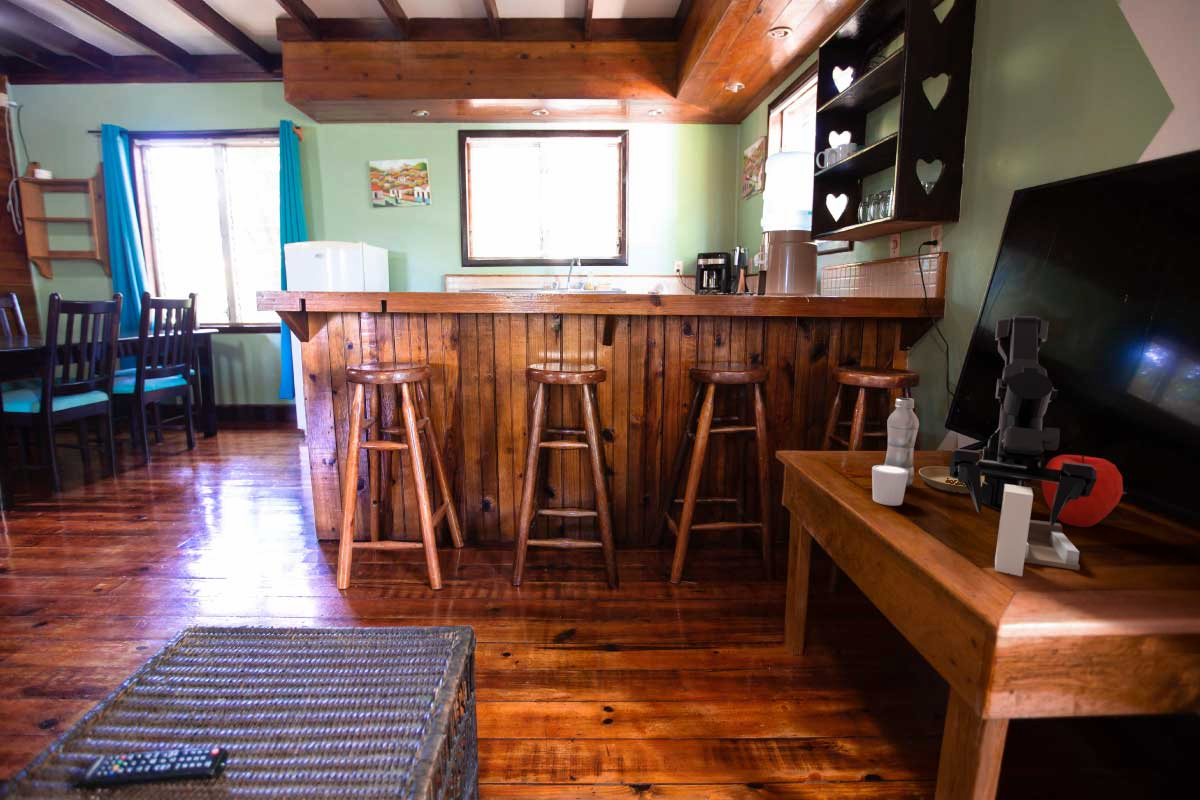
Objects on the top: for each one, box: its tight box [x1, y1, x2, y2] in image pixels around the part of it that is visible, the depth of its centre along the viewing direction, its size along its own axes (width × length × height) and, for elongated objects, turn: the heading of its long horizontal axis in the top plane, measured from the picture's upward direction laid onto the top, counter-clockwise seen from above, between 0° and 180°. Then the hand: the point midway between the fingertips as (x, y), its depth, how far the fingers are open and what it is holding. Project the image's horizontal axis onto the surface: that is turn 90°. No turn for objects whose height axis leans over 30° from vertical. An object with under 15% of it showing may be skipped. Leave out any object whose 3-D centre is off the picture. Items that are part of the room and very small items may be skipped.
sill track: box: [1024, 519, 1081, 571], centre depth 96 cm, size 10×9×4 cm
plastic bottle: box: [883, 397, 920, 487], centre depth 130 cm, size 6×7×20 cm
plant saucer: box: [918, 466, 985, 494], centre depth 131 cm, size 15×15×3 cm
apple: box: [1041, 454, 1124, 528], centre depth 108 cm, size 12×12×13 cm
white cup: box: [871, 464, 909, 507], centre depth 120 cm, size 7×7×7 cm
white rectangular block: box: [994, 484, 1034, 577], centre depth 90 cm, size 4×3×13 cm
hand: (1014, 518), depth 89 cm, fingers open, 9 cm apart
